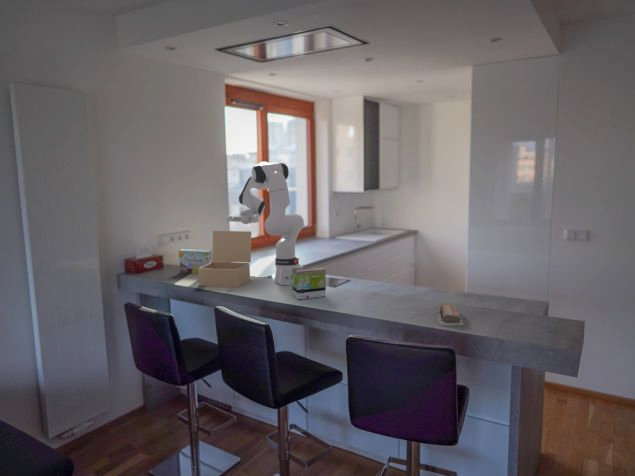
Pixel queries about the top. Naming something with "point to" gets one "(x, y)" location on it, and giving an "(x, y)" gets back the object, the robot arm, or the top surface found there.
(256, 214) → the robot arm
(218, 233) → the carton lid
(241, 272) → the carton
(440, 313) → the packaged product
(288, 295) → the top surface
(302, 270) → the tea box
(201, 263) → the snack box
